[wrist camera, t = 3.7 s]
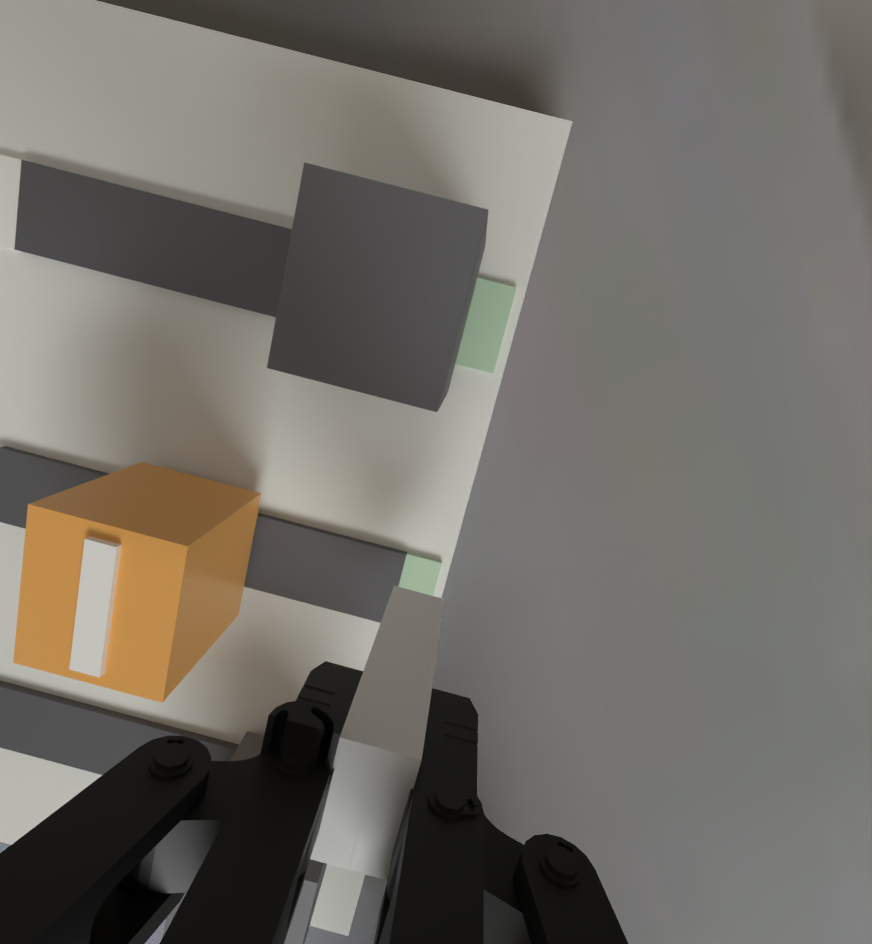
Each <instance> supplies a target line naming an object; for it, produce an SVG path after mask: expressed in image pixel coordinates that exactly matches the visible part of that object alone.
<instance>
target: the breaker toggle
mask: <svg viewBox="0 0 872 944" xmlns="http://www.w3.org/2000/svg"><path fill="white" fill-rule="evenodd" d="M261 494H262V493H258V492H254V491H250V490H247V489H243V488H239V487H235V486H231V485H228V484H224V483H220V482H216V481H212V480H209V479H205V478H201V477H197V476H193V475H190V474H186V473H182V472H178V471H174V470H171V469H167V468H163V467H159V466H155V465H152V464H148V463H144V462H141V463H138V464H135V465H133V466H130V467H127V468H124V469H122V470H119V471H116V472H114V473H111V474H108V475H105V476H103V477H100V478H97V479H95V480H92V481H89V482H86V483H84V484H81V485H78V486H76V487H73V488H70V489H67V490H65V491H62V492H59V493H57V494H54V495H51V496H48V497H46V498H43V499H40V500H38V501H35V502H32V503H29V504H28V510H27V520H26V531H25V542H24V552H23V563H22V574H21V584H20V595H19V606H18V616H17V627H16V638H15V648H14V659H13V663H16V664H20V665H23V666H27V667H31V668H35V669H38V670H42V671H46V672H49V673H53V674H57V675H61V676H64V677H68V678H72V679H76V680H79V681H83V682H87V683H91V684H94V685H98V686H102V687H106V688H109V689H113V690H117V691H120V692H124V693H128V694H132V695H135V696H139V697H143V698H147V699H150V700H154V701H158V702H162V703H163V702H164V700H165V699H166V698H167V697H168V696H169V695H170V693H171V692H172V691H173V690H174V689H175V688H176V687H177V685H178V684H179V683H180V682H181V681H182V680H183V678H184V677H185V676H186V675H187V674H188V673H189V672H190V670H191V669H192V668H193V667H194V666H195V665H196V663H197V662H198V661H199V660H200V659H201V658H202V656H203V655H204V654H205V653H206V652H207V651H208V650H209V648H210V647H211V646H212V645H213V644H214V643H215V641H216V640H217V639H218V638H219V637H220V636H221V635H222V633H223V632H224V631H225V630H226V629H227V628H228V626H229V625H230V624H231V623H232V622H233V621H234V619H235V618H236V617H237V616H238V615H239V610H240V605H241V599H242V594H243V589H244V584H245V578H246V573H247V568H248V562H249V557H250V552H251V547H252V541H253V536H254V531H255V526H256V520H257V515H258V510H259V504H260V499H261Z"/></svg>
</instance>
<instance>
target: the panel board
mask: <svg viewBox="0 0 872 944" xmlns="http://www.w3.org/2000/svg"><path fill="white" fill-rule="evenodd" d="M571 125H572V121H568V120H564V119H560V118H557V117H553V116H549V115H545V114H541V113H537V112H533V111H529V110H525V109H521V108H517V107H513V106H509V105H505V104H502V103H498V102H494V101H490V100H486V99H482V98H478V97H474V96H470V95H466V94H462V93H458V92H454V91H450V90H447V89H443V88H439V87H435V86H431V85H427V84H423V83H419V82H415V81H411V80H407V79H403V78H399V77H395V76H392V75H388V74H384V73H380V72H376V71H372V70H368V69H364V68H360V67H356V66H352V65H348V64H344V63H340V62H337V61H333V60H329V59H325V58H321V57H317V56H313V55H309V54H305V53H301V52H297V51H293V50H289V49H285V48H282V47H278V46H274V45H270V44H266V43H262V42H258V41H254V40H250V39H246V38H242V37H238V36H234V35H230V34H227V33H223V32H219V31H215V30H211V29H207V28H203V27H199V26H195V25H191V24H187V23H183V22H179V21H175V20H171V19H168V18H164V17H160V16H156V15H152V14H148V13H144V12H140V11H136V10H132V9H128V8H124V7H120V6H116V5H113V4H109V3H105V2H101V1H97V0H0V842H2V843H6V844H10V845H12V844H13V843H14V842H16V841H17V840H18V839H20V838H21V837H22V836H24V835H25V834H26V833H28V832H29V831H30V830H31V829H33V828H34V827H35V826H37V825H38V824H39V823H41V822H42V821H43V820H45V819H46V818H47V817H48V816H50V815H51V814H52V813H54V812H55V811H56V810H58V809H59V808H60V807H61V806H63V805H64V804H65V803H67V802H68V801H69V800H71V799H72V798H73V797H75V796H76V795H77V794H78V793H80V792H81V791H82V790H84V789H85V788H86V787H88V786H89V785H90V784H92V783H93V782H94V781H95V780H97V779H98V778H99V777H101V776H102V775H103V774H105V773H106V772H107V771H109V770H110V769H111V768H112V767H114V766H115V765H116V764H118V763H119V762H120V761H122V760H123V759H124V758H126V757H127V756H128V755H129V754H131V753H132V752H133V751H135V750H136V749H137V748H139V747H140V746H142V745H144V744H145V743H147V742H149V741H151V740H153V739H156V738H160V737H165V736H186V737H189V738H192V739H196V740H198V741H199V742H201V743H202V744H203V745H204V746H206V747H207V748H208V751H209V753H210V755H211V757H212V759H211V761H238V760H245V759H249V758H253V757H255V756H257V755H259V754H260V753H261V748H262V744H263V739H264V734H265V729H266V725H267V720H268V715H269V714H270V713H271V712H272V711H273V710H274V709H275V708H276V707H277V706H280V705H282V704H284V703H286V702H292V701H296V699H297V698H298V695H299V693H300V691H301V689H302V687H303V686H304V683H305V681H306V679H307V677H308V675H309V673H310V672H311V670H313V669H314V668H316V667H317V666H319V665H320V664H322V663H323V662H325V661H327V662H331V663H334V664H338V665H342V666H345V667H349V668H353V669H357V670H360V671H364V668H365V665H366V662H367V660H368V657H369V654H370V651H371V648H372V646H373V643H374V640H375V637H376V635H377V632H378V629H379V626H380V623H381V621H382V618H383V615H384V612H385V609H386V607H387V604H388V601H389V598H390V595H391V593H392V590H393V587H394V586H398V587H401V588H405V589H409V590H413V591H416V592H420V593H424V594H428V595H431V596H435V597H439V598H441V597H442V594H443V590H444V586H445V583H446V579H447V575H448V572H449V568H450V565H451V561H452V557H453V554H454V550H455V546H456V543H457V539H458V536H459V532H460V528H461V525H462V521H463V517H464V514H465V510H466V506H467V503H468V499H469V496H470V492H471V488H472V485H473V481H474V477H475V474H476V470H477V467H478V463H479V459H480V456H481V452H482V448H483V445H484V441H485V438H486V434H487V430H488V427H489V423H490V419H491V416H492V412H493V408H494V405H495V401H496V398H497V394H498V390H499V387H500V383H501V379H502V376H503V372H504V369H505V365H506V361H507V358H508V354H509V350H510V347H511V343H512V339H513V336H514V332H515V329H516V325H517V321H518V318H519V314H520V310H521V307H522V303H523V300H524V296H525V292H526V289H527V285H528V281H529V278H530V274H531V270H532V267H533V263H534V260H535V256H536V252H537V249H538V245H539V241H540V238H541V234H542V231H543V227H544V223H545V220H546V216H547V212H548V209H549V205H550V201H551V198H552V194H553V191H554V187H555V183H556V180H557V176H558V172H559V169H560V165H561V162H562V158H563V154H564V151H565V147H566V143H567V140H568V136H569V132H570V129H571ZM141 462H144V463H148V464H152V465H155V466H159V467H163V468H167V469H171V470H174V471H178V472H182V473H186V474H190V475H193V476H197V477H201V478H205V479H209V480H212V481H216V482H220V483H224V484H228V485H231V486H235V487H239V488H243V489H247V490H250V491H254V492H258V493H262V494H261V499H260V504H259V510H258V515H257V520H256V526H255V531H254V536H253V541H252V547H251V552H250V557H249V562H248V568H247V573H246V578H245V584H244V589H243V594H242V599H241V605H240V610H239V615H238V616H237V617H236V618H235V619H234V621H233V622H232V623H231V624H230V625H229V626H228V628H227V629H226V630H225V631H224V632H223V633H222V635H221V636H220V637H219V638H218V639H217V640H216V641H215V643H214V644H213V645H212V646H211V647H210V648H209V650H208V651H207V652H206V653H205V654H204V655H203V656H202V658H201V659H200V660H199V661H198V662H197V663H196V665H195V666H194V667H193V668H192V669H191V670H190V672H189V673H188V674H187V675H186V676H185V677H184V678H183V680H182V681H181V682H180V683H179V684H178V685H177V687H176V688H175V689H174V690H173V691H172V692H171V693H170V695H169V696H168V697H167V698H166V699H165V700H164V702H163V703H162V702H158V701H154V700H150V699H147V698H143V697H139V696H135V695H132V694H128V693H124V692H120V691H117V690H113V689H109V688H106V687H102V686H98V685H94V684H91V683H87V682H83V681H79V680H76V679H72V678H68V677H64V676H61V675H57V674H53V673H49V672H46V671H42V670H38V669H35V668H31V667H27V666H23V665H20V664H16V663H13V659H14V648H15V638H16V627H17V616H18V606H19V595H20V584H21V574H22V563H23V552H24V542H25V531H26V520H27V510H28V504H29V503H32V502H35V501H38V500H40V499H43V498H46V497H48V496H51V495H54V494H57V493H59V492H62V491H65V490H67V489H70V488H73V487H76V486H78V485H81V484H84V483H86V482H89V481H92V480H95V479H97V478H100V477H103V476H105V475H108V474H111V473H114V472H116V471H119V470H122V469H124V468H127V467H130V466H133V465H135V464H138V463H141ZM364 877H365V874H362V873H358V872H355V871H351V870H348V869H344V868H340V867H337V866H333V865H330V864H326V863H322V862H319V861H315V860H312V859H310V860H309V863H308V867H307V871H306V875H305V879H304V883H303V887H302V890H301V893H300V896H299V899H298V902H297V905H296V908H295V912H294V915H293V918H292V921H291V924H290V927H289V930H288V933H287V936H286V939H285V942H284V944H304V943H305V940H306V936H307V933H308V929H309V926H312V927H316V928H320V929H323V930H327V931H331V932H334V933H338V934H342V935H346V936H348V935H349V931H350V928H351V924H352V920H353V917H354V913H355V910H356V906H357V902H358V899H359V895H360V891H361V888H362V884H363V880H364ZM185 895H186V893H185V894H184V896H183V897H182V899H181V901H180V902H179V903H178V904H177V906H176V907H175V908H174V909H173V910H172V911H171V913H170V914H169V915H168V916H167V918H166V923H165V929H164V934H165V933H166V931H167V929H168V927H169V925H170V923H171V921H172V919H173V917H174V916H175V914H176V912H177V910H178V908H179V906H180V904H181V902H182V901H183V899H184V897H185ZM164 934H163V936H164Z"/></svg>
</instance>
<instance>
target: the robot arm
mask: <svg viewBox="0 0 872 944" xmlns="http://www.w3.org/2000/svg"><path fill="white" fill-rule="evenodd" d="M444 603H445V599H442V598H439V597H435V596H431V595H428V594H424V593H420V592H416V591H413V590H409V589H405V588H401V587H398V586H394V587H393V590H392V593H391V595H390V598H389V601H388V604H387V607H386V609H385V612H384V615H383V618H382V621H381V623H380V626H379V629H378V632H377V635H376V637H375V640H374V643H373V646H372V648H371V651H370V654H369V657H368V660H367V662H366V665H365V668H364V671H360V670H357V669H353V668H349V667H345V666H342V665H338V664H334V663H331V662H327V661H325V662H323V663H322V664H320V665H319V666H317V667H316V668H314V669H313V670H311V672H310V673H309V675H308V677H307V679H306V681H305V683H304V686H303V687H302V689H301V691H300V693H299V695H298V698H297V699H296V701H292V702H286V703H284V704H282V705H280V706H277V707H276V708H275V709H274V710H273V711H272V712H271V713H270V714H269V715H268V720H267V725H266V729H265V734H264V739H263V744H262V748H261V753H260V754H259V755H257V756H255V757H253V758H249V759H245V760H238V761H211V759H212V757H211V755H210V753H209V751H208V748H207V747H206V746H204V745H203V744H202V743H201V742H199V741H198V740H196V739H192V738H189V737H186V736H165V737H160V738H156V739H153V740H151V741H149V742H147V743H145V744H144V745H142V746H140V747H139V748H137V749H136V750H135V751H133V752H132V753H131V754H129V755H128V756H127V757H126V758H124V759H123V760H122V761H120V762H119V763H118V764H116V765H115V766H114V767H112V768H111V769H110V770H109V771H107V772H106V773H105V774H103V775H102V776H101V777H99V778H98V779H97V780H95V781H94V782H93V783H92V784H90V785H89V786H88V787H86V788H85V789H84V790H82V791H81V792H80V793H78V794H77V795H76V796H75V797H73V798H72V799H71V800H69V801H68V802H67V803H65V804H64V805H63V806H61V807H60V808H59V809H58V810H56V811H55V812H54V813H52V814H51V815H50V816H48V817H47V818H46V819H45V820H43V821H42V822H41V823H39V824H38V825H37V826H35V827H34V828H33V829H31V830H30V831H29V832H28V833H26V834H25V835H24V836H22V837H21V838H20V839H18V840H17V841H16V842H14V843H13V844H12V845H11V846H9V847H8V848H7V849H5V850H4V851H3V852H1V853H0V944H144V943H145V942H146V941H147V940H148V939H149V937H150V936H151V935H152V934H153V933H154V932H155V930H156V929H157V928H158V927H159V926H160V924H161V923H162V922H163V921H164V920H165V919H166V917H167V916H168V915H169V914H170V913H171V911H172V910H173V909H174V908H175V907H176V906H177V904H178V903H179V902H180V901H181V899H182V897H183V896H184V894H185V893H186V895H185V897H184V899H183V901H182V902H181V904H180V906H179V908H178V910H177V912H176V914H175V916H174V917H173V919H172V921H171V923H170V925H169V927H168V929H167V931H166V933H165V934H164V936H163V938H162V940H161V942H160V944H284V942H285V939H286V936H287V933H288V930H289V927H290V924H291V921H292V918H293V915H294V912H295V908H296V905H297V902H298V899H299V896H300V893H301V890H302V887H303V883H304V879H305V875H306V871H307V867H308V863H309V860H310V859H312V860H315V861H319V862H322V863H326V864H330V865H333V866H337V867H340V868H344V869H348V870H351V871H355V872H358V873H362V874H366V875H369V876H373V877H376V878H380V879H384V880H387V878H388V882H387V886H386V890H385V893H384V897H383V900H382V904H381V907H380V910H379V914H378V917H377V921H376V924H375V928H374V931H373V935H372V938H371V940H373V941H374V944H628V942H627V940H626V938H625V935H624V933H623V931H622V929H621V926H620V924H619V922H618V920H617V918H616V915H615V913H614V911H613V909H612V906H611V904H610V902H609V900H608V897H607V895H606V893H605V891H604V888H603V886H602V884H601V882H600V879H599V877H598V875H597V873H596V870H595V869H594V867H593V865H592V864H591V862H590V861H589V859H588V858H587V856H586V855H585V854H584V853H583V852H582V851H580V850H579V849H578V848H577V847H576V846H575V845H574V844H572V843H570V842H568V841H566V840H565V839H563V838H561V837H557V836H553V835H549V834H542V835H534V836H533V837H532V838H530V839H529V840H527V841H526V842H525V845H523V844H521V843H519V842H518V841H516V840H514V839H513V838H511V837H509V836H507V835H506V834H504V833H503V832H501V831H500V830H498V829H497V828H496V827H495V826H494V825H493V824H492V823H491V822H490V821H489V820H488V819H487V818H486V816H485V815H484V813H483V809H482V804H481V802H480V800H479V799H478V797H477V743H478V733H477V731H478V714H477V712H476V710H475V708H474V706H473V704H472V702H471V700H470V699H469V698H466V697H462V696H458V695H455V694H451V693H447V692H444V691H440V690H436V689H433V688H432V686H433V679H434V672H435V665H436V658H437V651H438V644H439V638H440V631H441V624H442V617H443V610H444ZM388 875H389V876H388Z"/></svg>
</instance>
